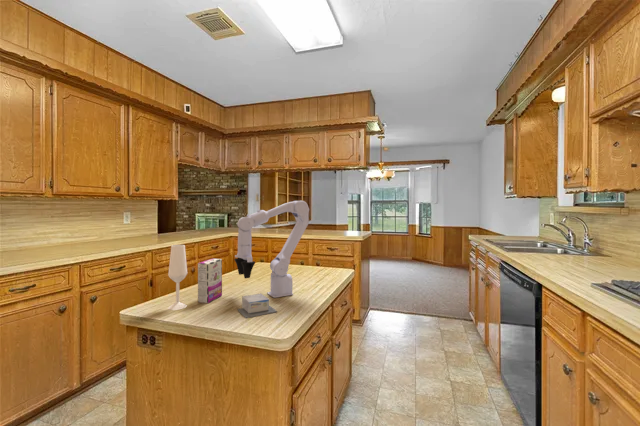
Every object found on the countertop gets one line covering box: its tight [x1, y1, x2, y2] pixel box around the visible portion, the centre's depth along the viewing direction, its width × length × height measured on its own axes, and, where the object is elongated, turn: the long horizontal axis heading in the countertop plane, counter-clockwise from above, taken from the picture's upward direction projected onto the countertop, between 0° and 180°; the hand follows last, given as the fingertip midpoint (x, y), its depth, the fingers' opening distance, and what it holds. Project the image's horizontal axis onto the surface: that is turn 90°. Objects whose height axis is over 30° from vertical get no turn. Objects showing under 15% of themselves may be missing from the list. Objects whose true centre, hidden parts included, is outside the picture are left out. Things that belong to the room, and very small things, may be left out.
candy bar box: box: [197, 258, 223, 304], centre depth 126 cm, size 11×5×16 cm, turn 168°
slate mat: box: [237, 305, 278, 319], centre depth 112 cm, size 12×10×1 cm
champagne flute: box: [167, 244, 188, 311], centre depth 115 cm, size 7×7×24 cm
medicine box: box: [241, 293, 270, 314], centre depth 114 cm, size 8×4×9 cm
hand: (244, 276), depth 128 cm, fingers open, 7 cm apart
